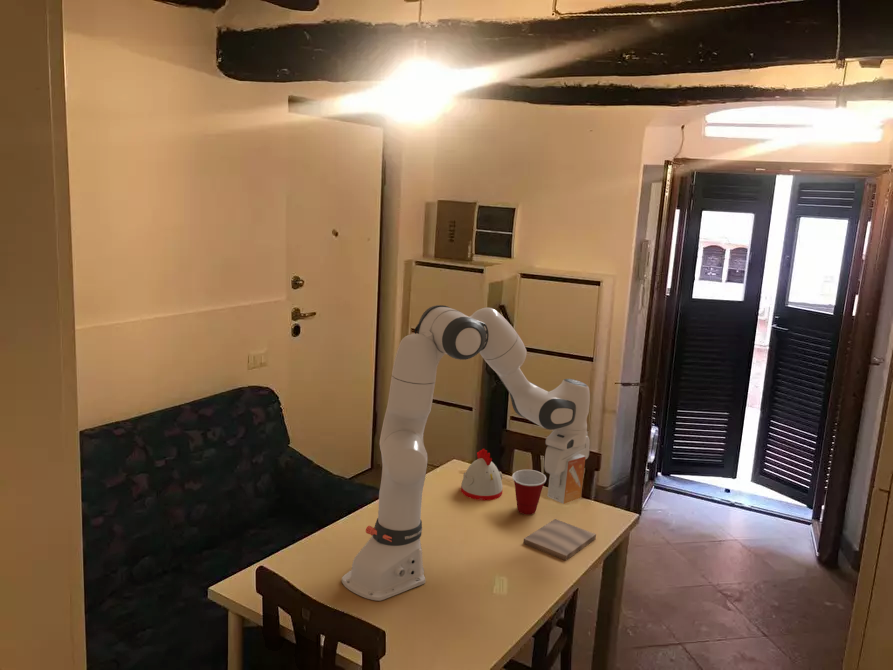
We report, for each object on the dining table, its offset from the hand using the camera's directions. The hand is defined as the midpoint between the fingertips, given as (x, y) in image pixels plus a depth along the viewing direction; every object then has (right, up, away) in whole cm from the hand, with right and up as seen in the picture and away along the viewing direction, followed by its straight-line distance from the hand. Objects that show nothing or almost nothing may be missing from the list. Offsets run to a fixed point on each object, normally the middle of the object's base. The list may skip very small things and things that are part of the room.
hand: (565, 480), depth 211 cm
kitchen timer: (-23, -11, +35) cm, 43 cm away
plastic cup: (-9, -14, +22) cm, 28 cm away
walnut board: (-1, -19, +4) cm, 19 cm away
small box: (0, -5, +1) cm, 5 cm away
